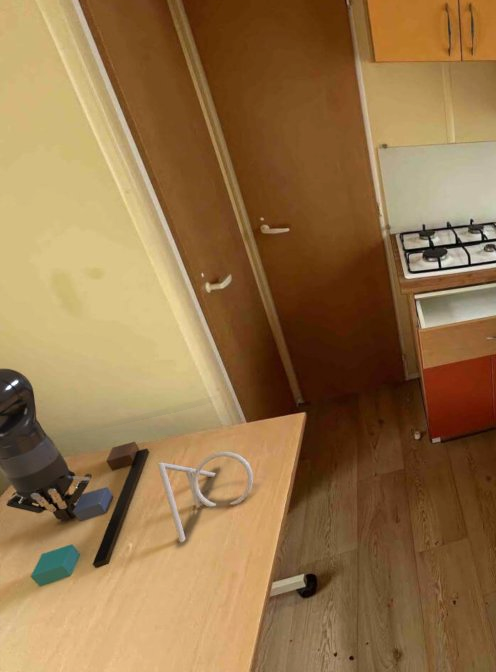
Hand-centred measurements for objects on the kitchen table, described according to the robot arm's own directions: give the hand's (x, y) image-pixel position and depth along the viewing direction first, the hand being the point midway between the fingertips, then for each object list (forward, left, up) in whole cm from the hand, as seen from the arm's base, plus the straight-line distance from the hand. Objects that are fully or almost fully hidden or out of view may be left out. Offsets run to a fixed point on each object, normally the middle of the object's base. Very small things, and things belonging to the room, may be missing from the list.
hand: (68, 516), depth 91 cm
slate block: (+5, 0, -1) cm, 5 cm away
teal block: (+3, -13, -1) cm, 14 cm away
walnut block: (+7, +13, -1) cm, 15 cm away
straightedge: (+10, -1, -1) cm, 10 cm away
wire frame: (+29, -9, -2) cm, 31 cm away
